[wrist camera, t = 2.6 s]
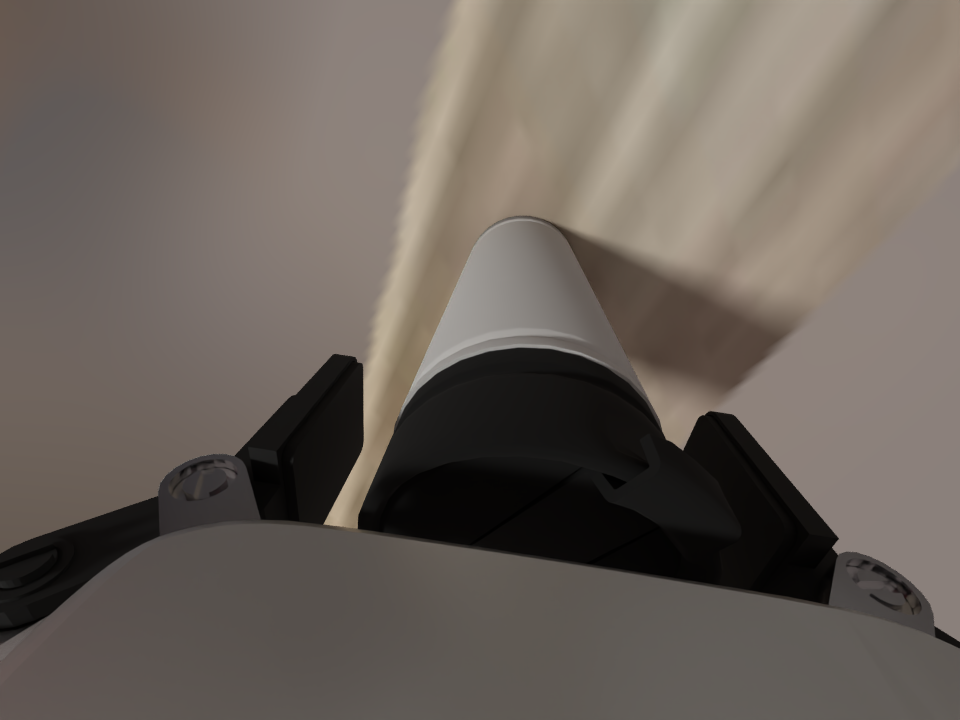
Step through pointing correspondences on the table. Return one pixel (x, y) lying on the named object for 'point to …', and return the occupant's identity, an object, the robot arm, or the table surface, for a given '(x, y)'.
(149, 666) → the robot arm
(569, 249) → the travel mug
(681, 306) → the table surface
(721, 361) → the table surface
